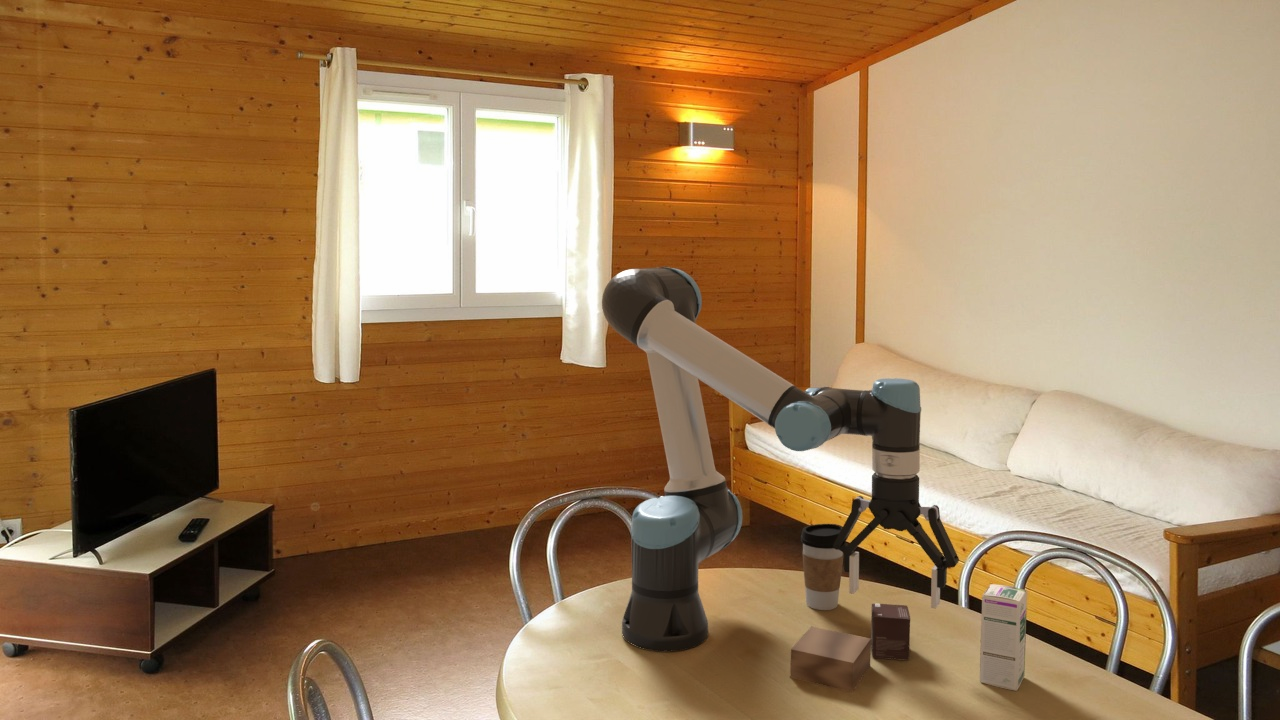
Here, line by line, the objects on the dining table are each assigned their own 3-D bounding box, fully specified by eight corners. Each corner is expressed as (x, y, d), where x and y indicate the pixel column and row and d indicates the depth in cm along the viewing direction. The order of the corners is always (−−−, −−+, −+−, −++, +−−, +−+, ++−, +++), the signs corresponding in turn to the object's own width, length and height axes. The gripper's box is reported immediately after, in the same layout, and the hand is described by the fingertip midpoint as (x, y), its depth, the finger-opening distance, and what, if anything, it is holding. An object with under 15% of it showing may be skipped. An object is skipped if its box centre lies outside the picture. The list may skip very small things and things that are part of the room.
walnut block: (790, 679, 147) (790, 649, 146) (810, 654, 156) (811, 626, 155) (852, 693, 142) (853, 662, 142) (870, 667, 151) (871, 638, 150)
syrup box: (1017, 692, 142) (1022, 601, 140) (977, 682, 145) (981, 593, 143) (1024, 677, 147) (1029, 589, 145) (985, 668, 150) (989, 582, 148)
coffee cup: (848, 613, 172) (850, 534, 171) (803, 612, 173) (804, 534, 171) (839, 596, 181) (841, 521, 179) (796, 595, 181) (797, 521, 179)
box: (909, 661, 153) (910, 619, 152) (871, 658, 154) (872, 616, 153) (906, 646, 158) (907, 604, 158) (870, 643, 160) (871, 602, 159)
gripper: (814, 470, 155) (814, 592, 158) (969, 487, 143) (966, 620, 145) (830, 461, 162) (829, 578, 164) (979, 476, 149) (976, 604, 151)
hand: (893, 598), depth 155 cm, fingers open, 13 cm apart
